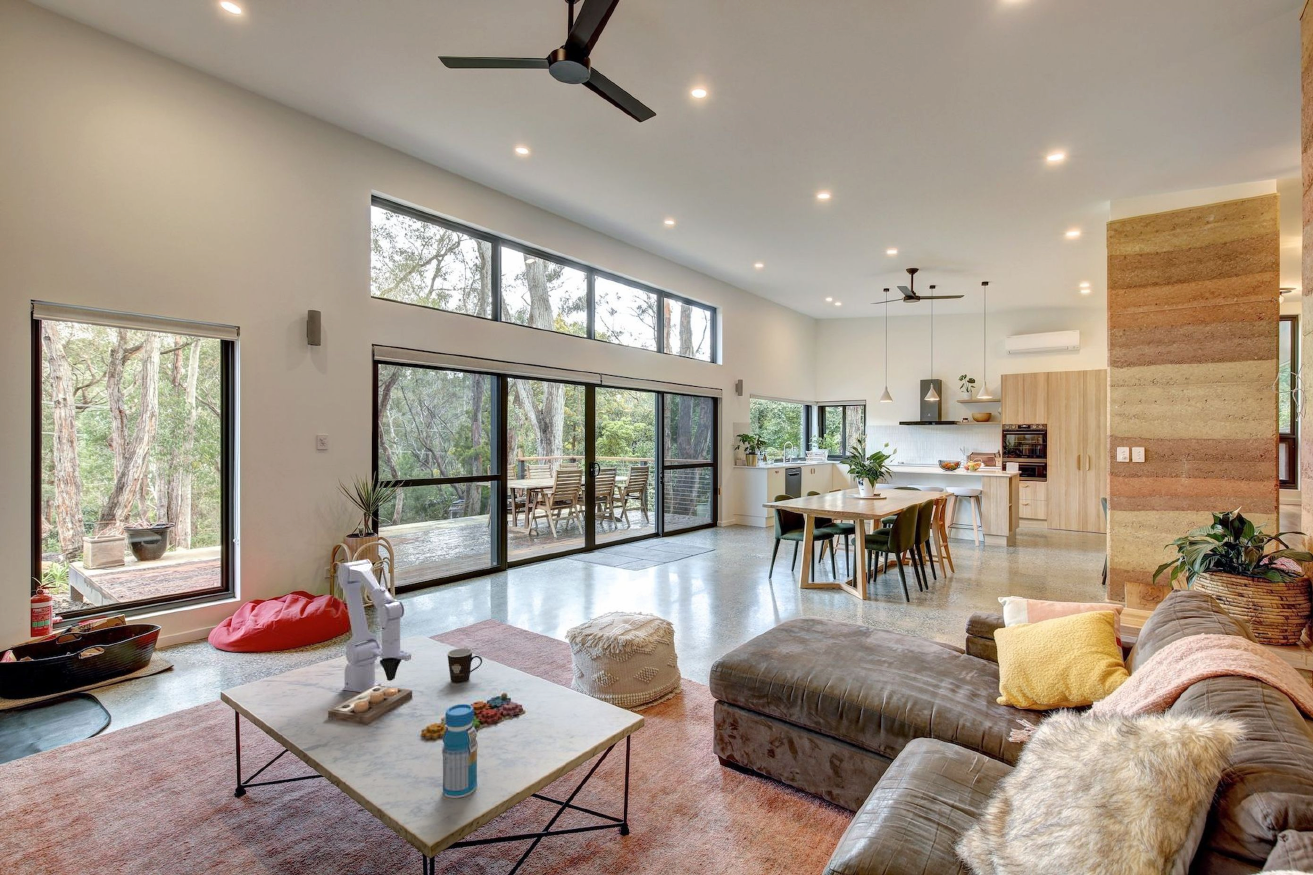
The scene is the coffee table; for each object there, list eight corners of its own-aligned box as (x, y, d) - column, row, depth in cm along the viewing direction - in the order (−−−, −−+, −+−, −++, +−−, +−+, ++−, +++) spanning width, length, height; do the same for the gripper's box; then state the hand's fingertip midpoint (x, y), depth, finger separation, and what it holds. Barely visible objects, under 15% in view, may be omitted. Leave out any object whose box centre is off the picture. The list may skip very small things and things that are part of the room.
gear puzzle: (431, 749, 169) (431, 735, 169) (409, 729, 180) (409, 715, 180) (527, 714, 190) (527, 701, 190) (502, 698, 202) (502, 686, 202)
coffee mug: (442, 681, 214) (442, 654, 214) (460, 673, 221) (460, 646, 221) (466, 688, 208) (466, 659, 208) (483, 679, 216) (483, 651, 216)
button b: (367, 703, 192) (367, 696, 192) (376, 698, 196) (376, 691, 196) (377, 704, 191) (377, 698, 191) (386, 699, 194) (386, 692, 194)
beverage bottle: (448, 803, 143) (447, 720, 143) (437, 786, 150) (437, 707, 150) (482, 791, 148) (482, 710, 148) (471, 775, 155) (470, 698, 155)
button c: (381, 698, 198) (381, 692, 198) (390, 693, 202) (390, 687, 202) (391, 700, 197) (391, 693, 197) (400, 695, 201) (400, 688, 201)
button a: (351, 712, 185) (351, 705, 185) (361, 706, 189) (361, 699, 189) (361, 714, 184) (361, 706, 184) (371, 708, 188) (371, 701, 188)
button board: (328, 718, 186) (328, 709, 186) (375, 692, 205) (375, 683, 205) (367, 725, 182) (367, 716, 182) (412, 697, 201) (412, 689, 201)
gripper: (364, 640, 197) (364, 681, 198) (400, 645, 193) (400, 686, 193) (379, 633, 204) (379, 673, 204) (415, 638, 200) (415, 678, 200)
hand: (391, 679), depth 199 cm, fingers closed
